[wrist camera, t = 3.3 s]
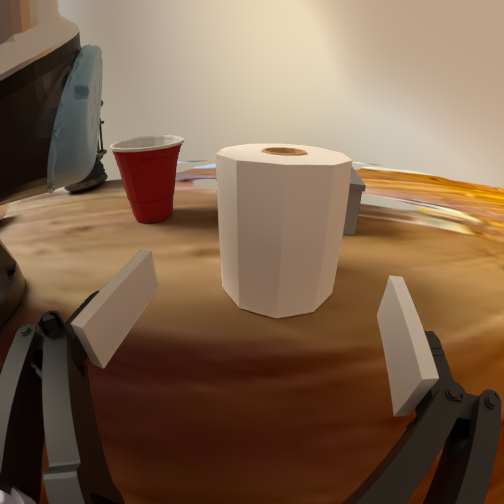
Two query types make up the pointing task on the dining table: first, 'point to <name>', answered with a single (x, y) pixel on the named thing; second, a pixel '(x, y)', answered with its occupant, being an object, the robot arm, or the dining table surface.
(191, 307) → the dining table surface
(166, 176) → the plastic cup
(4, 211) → the rocket engine
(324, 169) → the toilet paper
